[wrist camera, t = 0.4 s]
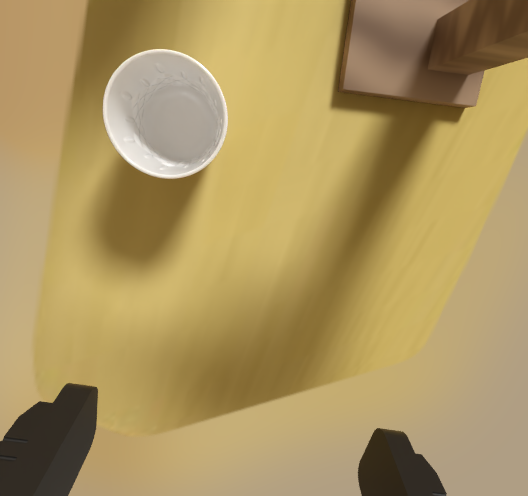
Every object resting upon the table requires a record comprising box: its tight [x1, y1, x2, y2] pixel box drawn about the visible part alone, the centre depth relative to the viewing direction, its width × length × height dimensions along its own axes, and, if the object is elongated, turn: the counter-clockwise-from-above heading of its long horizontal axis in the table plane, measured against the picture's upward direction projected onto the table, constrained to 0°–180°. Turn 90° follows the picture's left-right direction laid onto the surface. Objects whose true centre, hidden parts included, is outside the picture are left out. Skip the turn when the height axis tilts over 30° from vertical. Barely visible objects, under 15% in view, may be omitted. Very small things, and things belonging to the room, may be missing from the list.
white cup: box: [103, 49, 228, 179], centre depth 28 cm, size 8×8×10 cm
